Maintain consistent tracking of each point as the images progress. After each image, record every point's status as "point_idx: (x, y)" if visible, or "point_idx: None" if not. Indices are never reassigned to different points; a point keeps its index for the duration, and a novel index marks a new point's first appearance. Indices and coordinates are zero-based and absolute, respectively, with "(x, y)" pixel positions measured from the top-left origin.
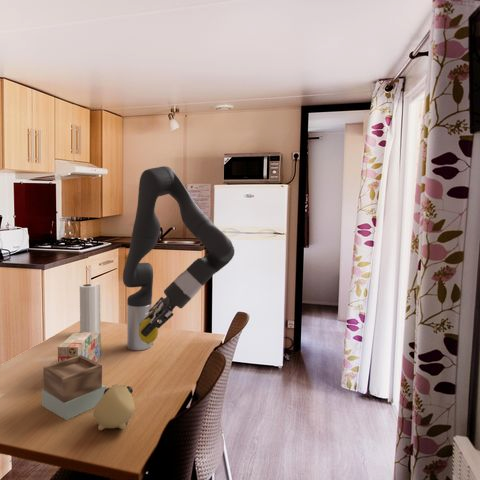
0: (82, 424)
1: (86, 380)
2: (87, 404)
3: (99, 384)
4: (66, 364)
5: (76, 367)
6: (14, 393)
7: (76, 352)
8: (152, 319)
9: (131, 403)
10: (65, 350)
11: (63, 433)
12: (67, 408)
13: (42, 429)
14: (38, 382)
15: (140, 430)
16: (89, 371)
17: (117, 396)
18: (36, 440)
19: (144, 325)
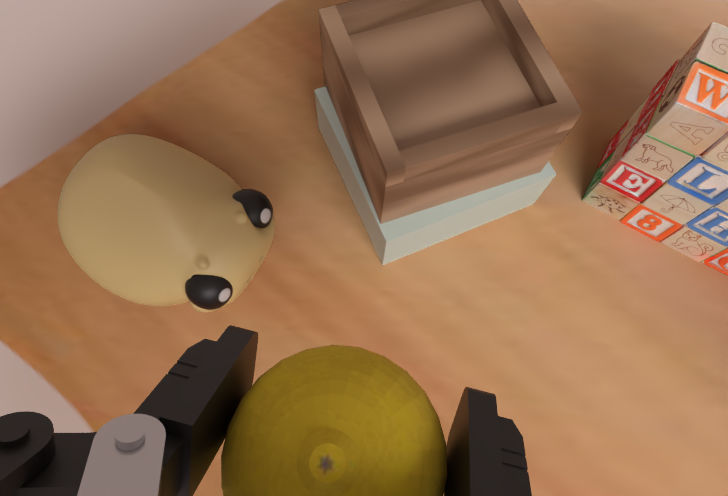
0: (264, 163)
1: (354, 127)
2: (348, 183)
3: (377, 205)
4: (519, 57)
5: (479, 95)
6: (585, 19)
7: (660, 114)
8: (121, 461)
9: (105, 273)
10: (686, 64)
11: (246, 110)
12: (317, 105)
13: (305, 66)
14: (648, 84)
15: (101, 322)
16: (360, 117)
17: (68, 185)
18: (255, 49)
19: (269, 378)
